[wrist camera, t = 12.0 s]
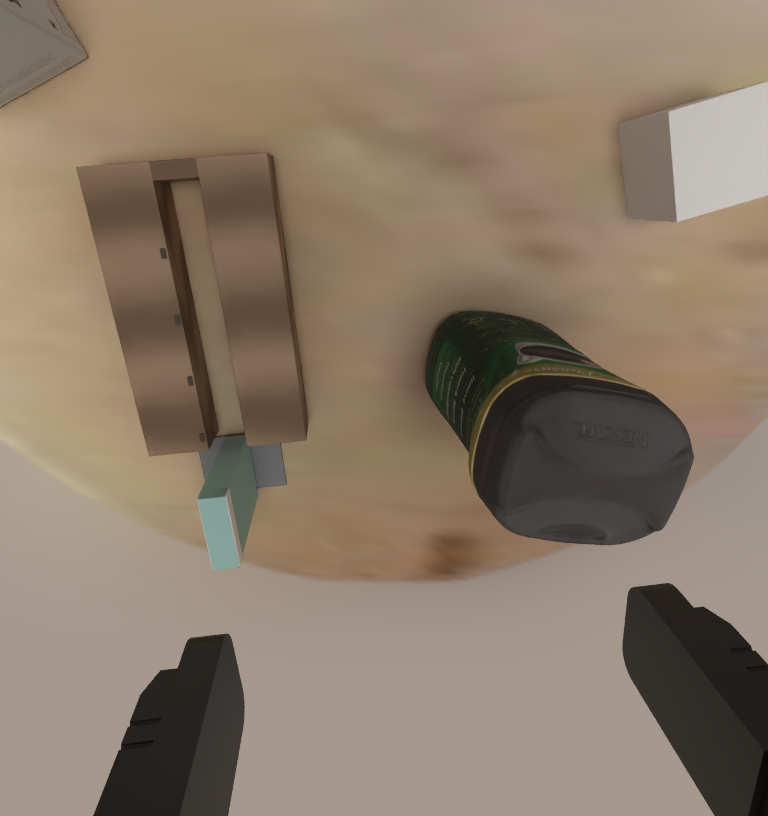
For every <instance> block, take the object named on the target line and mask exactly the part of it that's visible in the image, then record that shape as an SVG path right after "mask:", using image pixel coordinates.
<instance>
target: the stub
mask: <svg viewBox="0 0 768 816" xmlns="http://www.w3.org/2000/svg"><path fill="white" fill-rule="evenodd" d="M257 497H258V491H257V486H256V480H255V474H254V469H253V463H252V458H251V452H250V446H247V441H246V436H245V435H241V436H231V437H225V439H224V441H223V444H222V446H221V448H220V450H219V452H218V455H217V457H216V459H215V461H214V464H213V466H212V468H211V470H210V472H209V475H208V477H207V479H206V481H205V483H204V486H203V488H202V490H201V491H200V493H199V495H198V497H197V502H198V507H199V511H200V516H201V520H202V524H203V529H204V533H205V538H206V542H207V547H208V551H209V556H210V560H211V564H212V569H213V570H221V569H230V568H239V567H240V566H241V562H242V558H243V551H244V547H245V543H246V540H247V536H248V532H249V528H250V524H251V520H252V516H253V512H254V508H255V504H256V501H257Z"/></svg>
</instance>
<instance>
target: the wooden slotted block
mask: <svg viewBox="0 0 768 816" xmlns="http://www.w3.org/2000/svg"><path fill="white" fill-rule="evenodd" d="M76 168H77V172H78V176H79V180H80V184H81V188H82V192H83V196H84V200H85V204H86V208H87V212H88V216H89V220H90V224H91V228H92V232H93V236H94V240H95V244H96V248H97V252H98V256H99V260H100V264H101V267H102V271H103V275H104V279H105V283H106V287H107V291H108V295H109V299H110V303H111V307H112V311H113V315H114V319H115V323H116V327H117V331H118V335H119V339H120V343H121V347H122V351H123V355H124V359H125V363H126V367H127V371H128V375H129V379H130V383H131V386H132V390H133V394H134V398H135V402H136V406H137V410H138V414H139V418H140V422H141V426H142V430H143V434H144V438H145V442H146V446H147V450H148V454H149V456H157V455H167V454H177V453H187V452H197V451H206V450H209V449H210V447H211V445H212V443H213V441H214V439H215V437H216V435H217V433H218V431H219V428H218V423H217V418H216V413H215V408H214V403H213V398H212V393H211V388H210V383H209V378H208V373H207V368H206V363H205V357H204V352H203V347H202V342H201V337H200V332H199V327H198V322H197V317H196V312H195V307H194V302H193V297H192V292H191V287H190V282H189V277H188V272H187V267H186V262H185V256H184V251H183V246H182V241H181V236H180V231H179V226H178V221H177V216H176V211H175V206H174V201H173V196H172V191H171V186H170V182H175V181H188V180H200V186H201V191H202V197H203V202H204V208H205V213H206V219H207V224H208V230H209V236H210V241H211V247H212V252H213V258H214V263H215V269H216V274H217V280H218V286H219V291H220V297H221V302H222V308H223V313H224V319H225V325H226V330H227V336H228V341H229V347H230V352H231V358H232V363H233V369H234V375H235V380H236V386H237V391H238V397H239V402H240V408H241V413H242V419H243V425H244V430H245V436H246V441H247V446H256V445H266V444H275V443H285V442H295V441H305V440H306V438H307V429H308V414H307V406H306V399H305V391H304V384H303V377H302V369H301V362H300V354H299V347H298V339H297V332H296V324H295V317H294V309H293V302H292V294H291V287H290V279H289V272H288V264H287V257H286V249H285V242H284V235H283V227H282V220H281V212H280V205H279V197H278V190H277V182H276V175H275V167H274V160H273V156H271V155H270V154H268V153H255V154H242V155H229V156H215V157H202V158H189V159H176V160H163V161H149V162H136V163H123V164H110V165H97V166H83V167H76Z"/></svg>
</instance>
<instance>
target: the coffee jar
mask: <svg viewBox="0 0 768 816" xmlns="http://www.w3.org/2000/svg"><path fill="white" fill-rule="evenodd" d="M426 387H427V390H428V393H429V395H430V397H431V399H432V401H433V402H434V404H435V405H436V407H437V408H438V410H439V411H440V413H441V414H442V415H443V417H444V418H445V419H446V420H447V422H448V423H449V424H450V426H451V427H452V429H453V430H454V431H455V433H456V434H457V436H458V437H459V439H460V440H461V442H462V443H463V445H464V446H465V448H466V449H467V451H468V452H469V472H470V478H471V481H472V484H473V487H474V489H475V491H476V493H477V494H478V496H479V497H480V498H481V499H482V501H483V502H484V504H485V505H486V506H487V508H488V509H489V510H490V511H491V513H492V514H493V516H494V517H495V518H496V519H497V520H498V522H499V523H500V524H501V525H502V526H503V527H505V528H506V529H507V530H509V531H511V532H513V533H515V534H518V535H521V536H525V537H529V538H530V537H531V538H537V539H543V540H549V541H556V542H565V543H576V544H596V545H616V544H623V543H627V542H631V541H634V540H637V539H640V538H643V537H645V536H647V535H649V534H651V533H653V532H655V531H660V530H662V529H663V528H664V526H665V525H666V523H667V521H668V519H669V517H670V515H671V514H672V512H673V510H674V508H675V506H676V504H677V502H678V500H679V497H680V495H681V493H682V491H683V488H684V486H685V483H686V481H687V478H688V475H689V472H690V469H691V466H692V462H693V458H694V456H693V451H692V446H691V441H690V437H689V434H688V432H687V430H686V427H685V426H684V424H683V423H682V422H681V420H680V419H679V418H678V417H677V415H676V414H675V413H674V412H673V411H672V410H670V409H669V408H668V407H667V406H666V405H665V404H664V403H663V402H661V401H660V400H659V399H658V398H657V397H656V396H654V395H653V394H651V393H649V392H648V391H646V390H644V389H642V388H640V387H638V386H636V385H634V384H632V383H630V382H628V381H626V380H624V379H622V378H620V377H618V376H616V375H614V374H612V373H610V372H609V371H607V370H605V369H603V368H602V367H600V366H599V365H597V364H596V363H594V362H593V361H592V360H590V359H589V358H588V357H586V356H585V355H583V354H582V353H581V352H579V351H578V350H576V349H575V348H574V347H572V346H571V345H570V344H568V343H567V342H566V341H565V340H563V339H562V338H561V337H560V336H559V335H557V334H556V333H554V332H553V331H552V330H550V329H549V328H547V327H545V326H544V325H542V324H540V323H536V322H534V321H531V320H527V319H524V318H520V317H515V316H511V315H505V314H499V313H493V312H463V313H459V314H456V315H454V316H452V317H450V318H449V319H447V320H446V321H445V322H444V323H443V324H442V325H441V326H440V328H439V329H438V331H437V333H436V335H435V337H434V340H433V342H432V345H431V349H430V353H429V356H428V361H427V367H426Z"/></svg>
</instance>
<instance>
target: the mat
mask: <svg viewBox="0 0 768 816" xmlns="http://www.w3.org/2000/svg"><path fill="white" fill-rule="evenodd" d="M241 435H245V434H237V435H227V436H217V437H215V439H214V441H213V443H212V445H211V447H210V449H209V450H206V451H199V455H200V459H201V464H202V469H203V473H204V478H205V481H206V479H207V477H208V475H209V472H210V470H211V468H212V466H213V464H214V461H215V459H216V457H217V455H218V452H219V450H220V448H221V446H222V444H223V441H224V439H225V437H231V436H241ZM250 452H251V458H252V463H253V469H254V474H255V480H256V486H257V488H261V487H271V486H280V485H287V483H286V476H285V470H284V463H283V457H282V450H281V444H280V443H275V444H266V445H256V446H250Z"/></svg>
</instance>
